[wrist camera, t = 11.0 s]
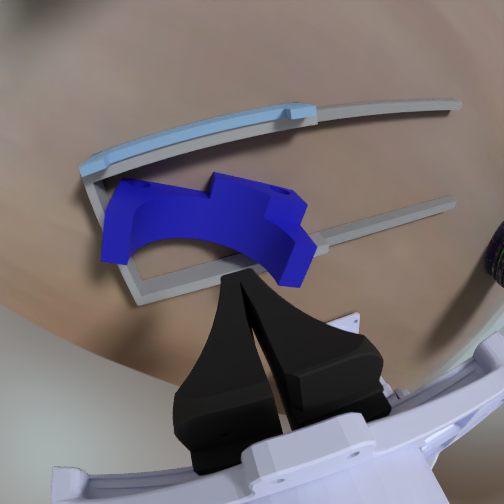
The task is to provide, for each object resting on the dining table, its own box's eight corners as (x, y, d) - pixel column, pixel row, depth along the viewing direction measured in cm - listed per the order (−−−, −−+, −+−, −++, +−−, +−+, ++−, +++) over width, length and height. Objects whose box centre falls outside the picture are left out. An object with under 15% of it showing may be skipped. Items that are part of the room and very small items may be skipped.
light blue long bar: (297, 110, 19) (317, 115, 17) (94, 163, 18) (81, 177, 15) (296, 102, 19) (315, 105, 16) (92, 155, 18) (78, 167, 15)
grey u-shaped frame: (448, 202, 27) (461, 211, 25) (139, 290, 24) (137, 306, 22) (452, 99, 21) (468, 102, 19) (88, 165, 18) (80, 174, 16)
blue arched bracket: (292, 189, 23) (327, 224, 18) (273, 242, 25) (299, 287, 20) (126, 155, 19) (108, 182, 14) (117, 216, 21) (100, 261, 16)
